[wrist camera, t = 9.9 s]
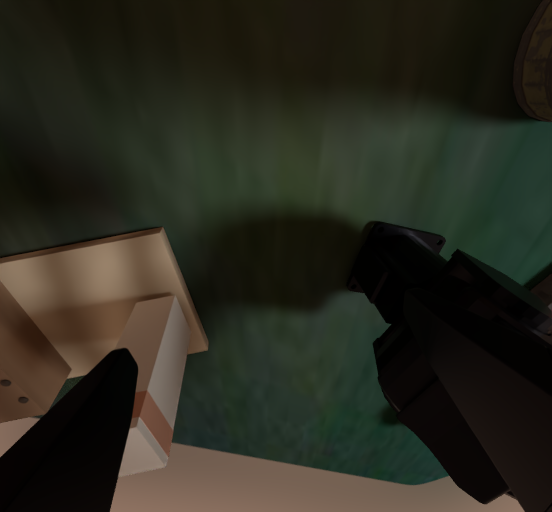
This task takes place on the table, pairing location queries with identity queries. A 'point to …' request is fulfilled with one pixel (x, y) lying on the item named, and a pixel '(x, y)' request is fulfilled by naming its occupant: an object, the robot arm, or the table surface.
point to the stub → (154, 380)
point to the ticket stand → (78, 311)
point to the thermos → (535, 65)
